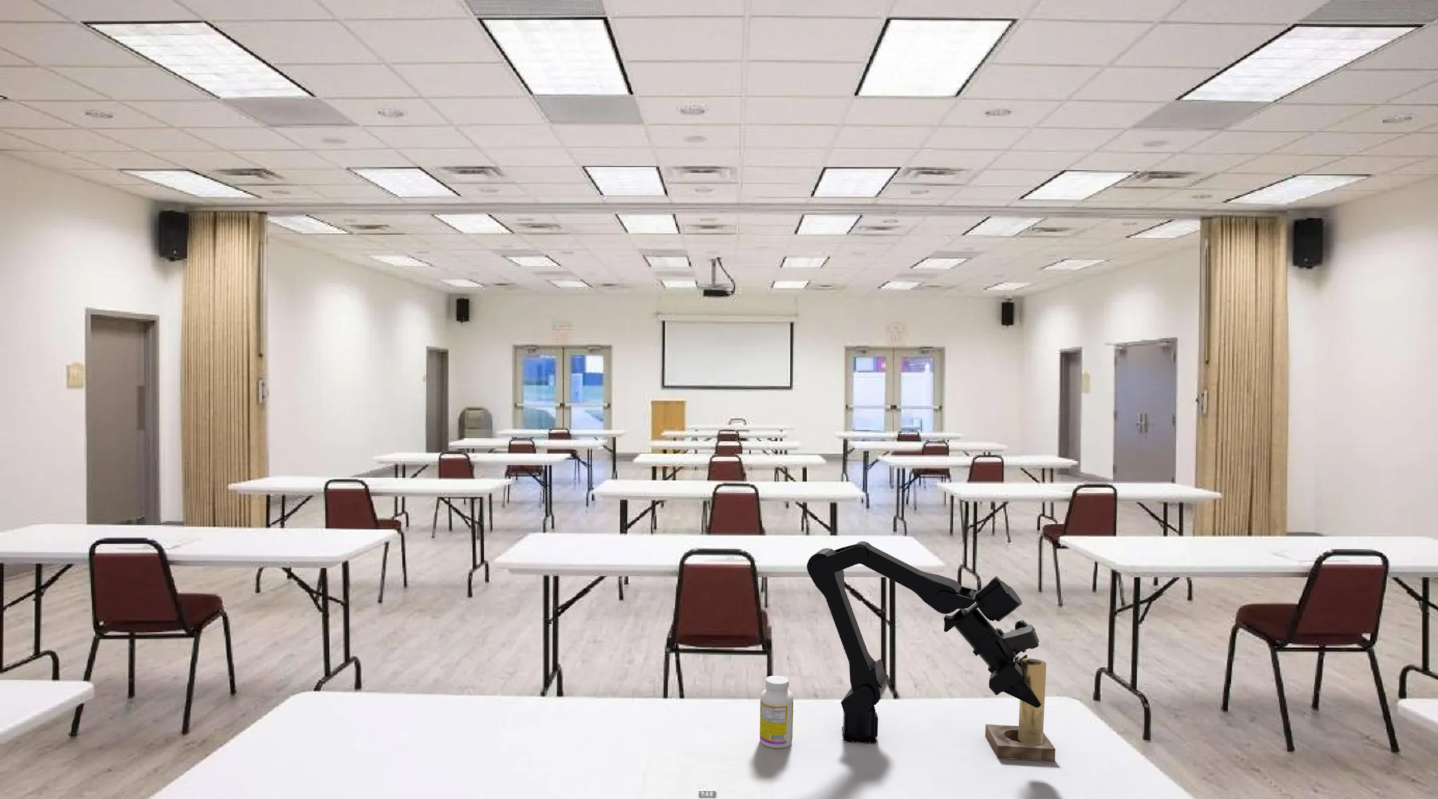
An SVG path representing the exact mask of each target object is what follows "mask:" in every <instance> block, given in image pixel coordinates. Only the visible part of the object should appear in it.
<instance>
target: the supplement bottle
mask: <svg viewBox="0 0 1438 799" xmlns="http://www.w3.org/2000/svg"><path fill="white" fill-rule="evenodd" d="M765 687H766V688H765V689H763V691H761V694H760V704H759V705H760V706H759V711H760V712H759V741H760V743H761V744H762V745H763V746H765V747H767V748H771V749H784V748H786V747H789V746H790V745H792V743H793V736H794V735H793V730H794V729H793V728H794V723H793V722H794V695H793V693H792V692H791V691H790V690H789V687H790V680H789V678H788V677H786V676H782V675H770V676H767V677H765Z"/></svg>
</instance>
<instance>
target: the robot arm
mask: <svg viewBox="0 0 1438 799" xmlns="http://www.w3.org/2000/svg"><path fill="white" fill-rule="evenodd" d="M857 565H862V566H864V567H866V568H868V569H870V570H872V571H874V572H875V573H878V574H880V575H881V576H883V577H885V578H887V579H889V580H891V581H893V582H894V583H897V584H899V585H901V586H902V587H904V588H906V589H908V590H910V591H912V592H914V594H916V595H917V596H918V597H919V598H920V599H921V600H922V601H923V602H924V603H925V604H927V605H928V606H929V607H930V608H931V609H933V610H934V611H935V612H937V613H939V614H942V615H944V617H943V620H944V621H943V622H944V627H943V632H944V633H948V632H949V631H951V629H953V628H955V629H956V631H958V633H959V634H960V636H962V637H963V639H964V640H965V641H966V642H967V643H968V644H969V645H970V647H971V648H972V649H973V650H972V653H973V655H974V656H975V657H977V656H979V657H980V658H981V659H982V661H984V663H985V664H986V665H987V666H988V667H987V670H988V672H989V673H990V676H989V680H988V688H989V690H991V692H992V693H993V694H994V695H995V696H998V695H1000V694H1001V693H1005V694H1007V695H1009V696H1011V697H1014V698H1016V699H1018V700H1019V701H1020V700H1022V701H1024V702H1026V703H1028V704H1030V705H1032V706H1034V707H1036V708H1038V707H1040V706H1041V703H1040V701H1039V700H1038V698H1037V696H1036V695H1035V693H1034V692H1033V690H1032V689H1031V687H1030V686H1029V684H1028V683H1027V681H1026V680H1025V668H1024V669H1023V670H1022V669H1021V664H1022V659H1025V658H1028V654H1025V655H1023V656H1022V657H1020V656H1019V655H1018V654H1020V653H1022V654H1023V653H1026V652H1027V650H1029V649H1030V650H1033V649H1037V648H1038V647H1039V646H1040V644H1039V642H1040V639H1039V637H1038V634H1037V633H1036V629H1035V627H1034V626H1033V625H1032V624H1031V623H1029V624H1028V623H1027V622H1026V621H1025V620H1024V619H1020V620H1016V621H1015V624H1014V629H1010V631H1008V632H1004V631H1003V630H1002V629H1001V628H998V627H996V628H995V627H994V626H993V625H992V623H991V622H990V621H992V622H995V621H997V622H998V623H1000V622H1001V621H1002V620H1003V619H1005V618H1006V617H1008V616H1010V614H1011V613H1013V612H1014V611H1016V609H1018V608H1019V607H1020V606H1022V604H1023V602H1022V599H1021V598H1020V596H1019V595H1018V594H1017V593H1016V591H1015V590H1014V589H1013V587H1011V586H1010V585H1009V584H1007V583H1006V582H1005V581H1003V580H1001V579H1000V578H999V577H998V576H996V575H995V576H994V577H993V578H991V579H990V581H989V582H988V583H987V584H986V585H985V586H983V587H982V588H981V589H979V590H978V589H974V588H971V587H966V586H963V585H961V584H960V583H959V582H958V581H956V580H955V579H952V578H951V577H950V578H949V577H947V576H943V575H940V574H937V573H936V574H935V573H930V572H926V571H923V570H921V569H918V568H916V567H914V566H912V565H911V564H908V563H906V562H905V561H903V560H901V559H899V558H897V557H894V556H893V555H891V554H889V553H887V552H885V551H883V550H881V549H879V548H877V547H875V546H874V545H872V544H871V543H870V542H869V541H865V540H863V541H861V540H860V541H858V542H857V543H855V544H854V543H853V544H849V545H847V546H843V547H840V548H836V549H833V548H829V547H826V548H825V547H824V548H822V549H820V550H819V551H817V552H815V553H814V554H812V555H811V556H810V557H809V558H808V560H807V563H806V570H807V573H808V575H809V578H811V581H812V582H813V584H814V586H815V587H816V588H817V589H818V591H819V592H820V593H821V595H823V596H824V598H825V601H826V603H827V607H828V609H829V612H830V615H831V617H832V620H833V623H834V625H835V628H836V631H837V634H838V637H839V639H840V642H841V645H842V648H843V650H844V653H845V656H846V657H847V660H848V665H849V666H848V669H849V670H848V671H849V683H850V689H849V690H848V692H847V693H846V694H845V696H844V697H843V698H842V699H841V702H840V704H841V707H842V711H843V713H842V715H843V717H842V719H843V720H842V726H841V733H842V732H843V733H842V738H843V739H844V740H843V739H842V740H843V742H845V741H847V742H846V743H861V744H876V743H877V739H876V738H878V734H879V733H878V732H879V716H878V713H877V712H876V707H875V705H877V704H878V703H879V702H880V700H881V699H882V697H883V695H884V694H885V691H886V690H887V686H888V682H887V680H888V678H889V675H888V674H887V673H886V671H885V668H884V664H883V660H882V659H881V658H880V659H878V660H875V659H874V658H873V657H872V656H871V654H870V653H869V651H868V648H867V645H866V642H865V639H864V637H863V634H862V632H861V630H860V626H859V623H858V620H857V619H856V615H855V613H854V610H853V608H852V605H851V602H850V599H849V597H848V594H847V591H846V587H845V571H844V570H846V569H849V568H850V567H853V566H857ZM954 612H955V613H954ZM952 613H953V614H952ZM949 614H952V615H949Z"/></svg>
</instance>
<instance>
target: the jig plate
mask: <svg viewBox="0 0 1438 799" xmlns="http://www.w3.org/2000/svg"><path fill="white" fill-rule="evenodd" d="M1018 730H1019V725H1009V724H1008V725H1004V724H993V723H992V724H988V723H985V730H984V732H985V733H984V736H985V738H986V740H987V742H988V744H989V746H990V748H991V750H992V751H993V753H994V754H995V756H996V758H997V759H1007V760H1008V759H1009V760H1022V761H1023V760H1024V761H1039V762H1040V761H1041V762H1042V761H1044V762H1053V763H1054V762H1056V747H1054V745H1053V744H1052V742H1051V741H1050V739H1049V737H1048V736H1047V735H1046V734H1045V732H1044V731H1043V743H1042V744H1040V745H1029V744H1026V743H1023V742H1021V741H1020V740H1019V739H1018Z"/></svg>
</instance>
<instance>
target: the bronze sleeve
mask: <svg viewBox="0 0 1438 799" xmlns="http://www.w3.org/2000/svg"><path fill="white" fill-rule="evenodd" d="M1024 668H1025V680H1026V681H1027V683H1028V684H1029V686H1030V687H1031V689H1032V690H1033V692H1034V693H1035V695H1036V696H1037V698H1038V700H1039V701H1040V703H1041V706H1040V707H1038V708H1036V707H1034V706H1032V705H1030V704H1028V703H1026V702H1024V701H1022V700H1020V699H1019V708H1018V709H1019V710H1018V711H1019V712H1018V726H1019V730H1018V739H1019V740H1020V741H1021V742H1023V743H1026V744H1029V745H1040V744H1042V743H1043V732H1044V722H1045V703H1046V702H1045V700H1046V682H1047V681H1046V680H1047V678H1046V677H1047V662H1046V661H1044V660H1041V659H1038V658H1033V657H1027V658H1025V659H1022V664H1021V669H1022V670H1023V669H1024Z"/></svg>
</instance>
